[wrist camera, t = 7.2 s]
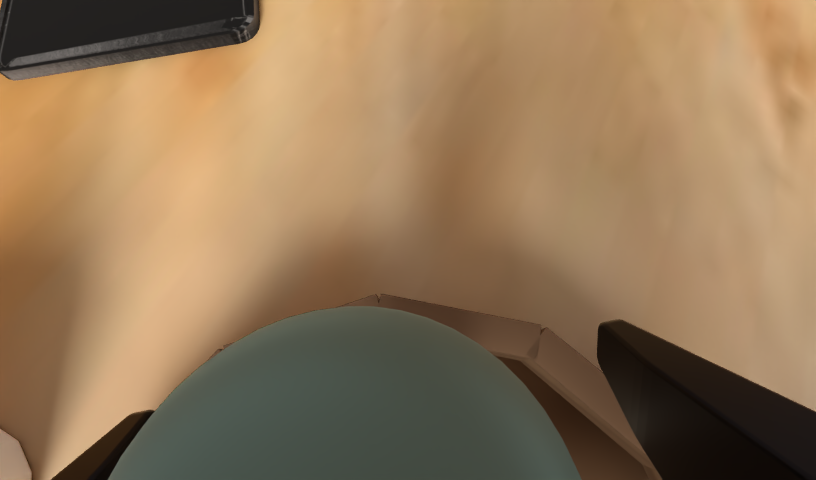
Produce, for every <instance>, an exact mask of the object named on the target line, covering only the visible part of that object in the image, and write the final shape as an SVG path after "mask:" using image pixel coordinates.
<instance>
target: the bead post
mask: <svg viewBox="0 0 816 480" xmlns="http://www.w3.org/2000/svg"><path fill="white" fill-rule="evenodd" d="M108 480H582V479H581V477H580V475H579V472H578V470H577V468H576V466H575V464H574V462H573V460H572V458H571V456H570V453H569V451H568V449H567V447H566V445H565V443H564V441H563V439H562V437H561V436H560V434H559V432H558V431H557V429H556V428H555V426H554V424H553V423H552V421H551V420H550V418H549V416H548V415H547V413H546V411H545V410H544V408H543V407H542V406H541V405H540V403H539V402H538V401H537V400H536V398H535V397H534V396H533V394H532V393H531V392H530V391H529V389H528V388H527V387H526V386H525V384H524V383H523V382H522V381H521V380H520V379H519V378H518V377H517V376H516V375H515V374H514V373H513V372H512V371H511V370H510V369H509V368H508V367H507V366H506V365H505V364H504V363H503V362H502V361H500V360H499V359H498V358H496V357H495V356H494V355H493V354H491V353H490V352H489V351H487V350H486V349H485V348H484V347H482V346H481V345H480V344H478V343H477V342H475V341H473V340H472V339H470V338H468V337H467V336H465V335H463V334H461V333H460V332H458V331H456V330H455V329H453V328H451V327H448V326H446V325H444V324H441V323H439V322H436V321H434V320H432V319H429V318H427V317H423V316H420V315H416V314H413V313H409V312H405V311H402V310H396V309H388V308H381V307H374V306H346V307H338V308H330V309H322V310H316V311H311V312H307V313H303V314H300V315H296V316H292V317H288V318H285V319H282V320H280V321H277V322H275V323H272V324H270V325H267V326H265V327H262V328H260V329H258V330H256V331H254V332H253V333H251V334H249V335H247V336H245V337H243V338H242V339H240V340H238V341H236V342H234V343H233V344H231V345H230V346H228V347H227V348H225V349H224V350H222V351H221V352H220V353H218V354H217V355H215V356H214V357H213V358H211V359H210V360H208V361H207V362H206V363H204V364H203V365H201V366H200V367H199V368H198V369H196V370H195V371H194V372H193V373H192V374H191V375H190V376H189V377H188V378H186V379H185V380H184V381H183V382H182V383H181V384H180V385H179V386H178V387H176V388H175V389H174V390H173V392H172V393H171V394H170V395H169V396H168V397H167V398H166V399H165V401H164V402H163V403H162V404H161V405H160V406H159V407H158V408H157V410H156V411H155V412H154V413H153V414H152V415H151V416H150V418H149V419H148V420H147V422H146V423H145V424H144V425H143V427H142V428H141V429H140V431H139V432H138V433H137V435H136V436H135V438H134V439H133V440H132V442H131V443H130V445H129V446H128V447H127V449H126V450H125V452H124V453H123V454H122V456H121V457H120V459H119V461H118V463H117V464H116V466H115V468H114V470H113V471H112V473H111V475H110V477H109V478H108Z"/></svg>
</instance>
